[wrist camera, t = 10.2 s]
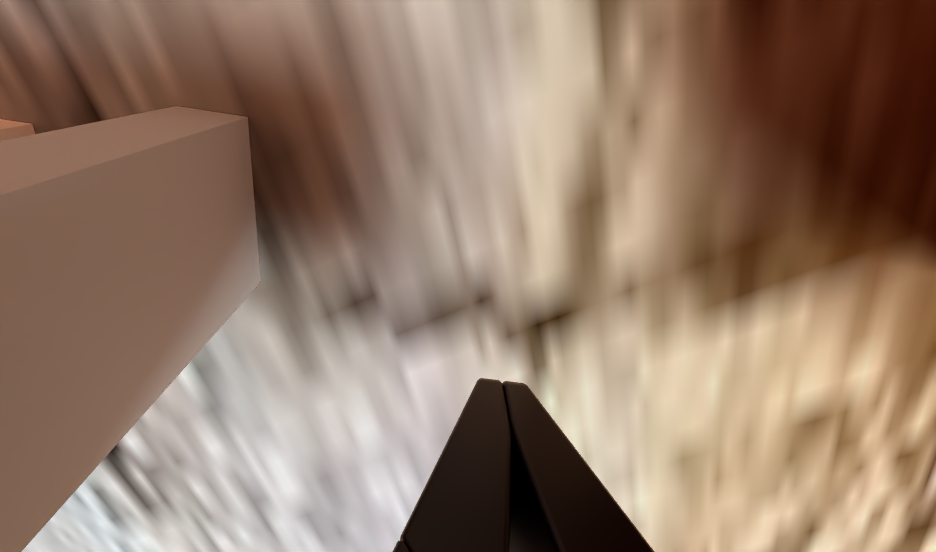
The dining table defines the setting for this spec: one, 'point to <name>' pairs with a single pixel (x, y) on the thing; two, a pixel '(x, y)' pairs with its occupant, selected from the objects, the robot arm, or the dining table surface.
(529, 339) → the dining table surface
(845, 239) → the dining table surface
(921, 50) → the dining table surface
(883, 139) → the dining table surface
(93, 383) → the domino
